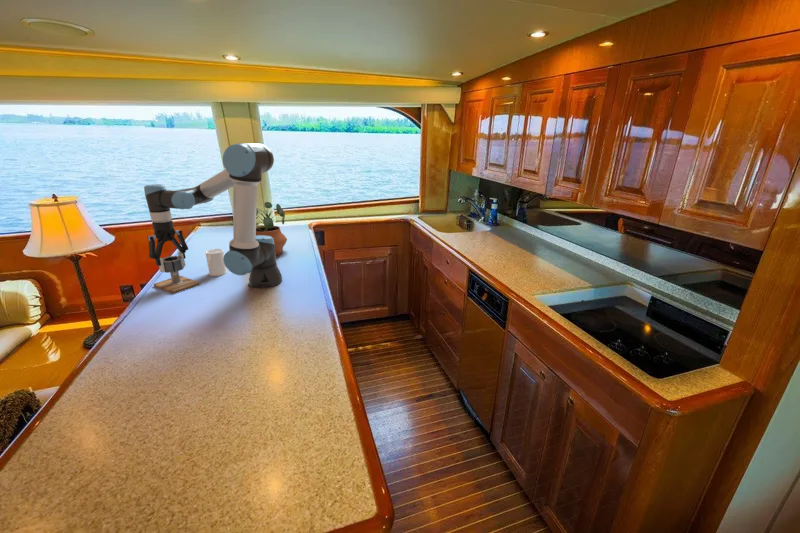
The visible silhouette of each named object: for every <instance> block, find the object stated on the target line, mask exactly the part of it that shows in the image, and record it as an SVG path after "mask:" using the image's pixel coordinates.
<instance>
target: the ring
mask: <svg viewBox="0 0 800 533" xmlns="http://www.w3.org/2000/svg"><path fill="white" fill-rule="evenodd" d="M161 258H162V260H163V264H164V268H165V272H164V273H170V272H177V271H178V272H180V271H182V270H184V268H185V266H184V263H183V258H182V257H180V256H178V255H172V256H171V255H170V256H165V257H161Z"/></svg>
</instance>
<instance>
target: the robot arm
mask: <svg viewBox="0 0 800 533" xmlns="http://www.w3.org/2000/svg"><path fill="white" fill-rule="evenodd" d="M274 162H275V159H274V154H273V152H272V150H271V149H270V148H269V147H267V146H266V145H265V144H263V143H256V142H255V143H248V142H247V143H245V142H243V143H242V142H239V143H234V144H230V145H229V146H228V147H226V149H225V150H224V152H223V154H222V166H223V167H224V168H225V169H224V170H222V171H220V172H218V173H217V174H215V175H213V176H212V177H210V178H208V179H206V180H204V181H203V182H202V183H200V184H199V185H196V186H194V187H189V188H184V189H183V188H182V189H179V190H172V189H171V190H169V189H167V188H166V187H165V185H164V184H162V183H161V184H158V183H154V184H153V183H152V184H146V185H144V187H143V189H144V190H143V191H144V196H145V200H146V203H147V206H148V207H147V208H148V211H149V216H150V220H151V221H152V223H151V224H152V228H153V230H154V234H152V235H147V237H146V238H147V240H148V257H149V259H153V260H155V264H156V266H157V267H158V268H159V271H160V272H161V273H165V268H164V264H163V260H162V258H163V257H161V256H162V251H163V248H164V247H163V246H164V244H165V243H167V242H171V243H172V244H173V245H174V246H175V248H176V249H177V250H178V252H177V256H180V257H182V258H183V263H184V267H186V262H185V259H186V252H187V251H188V250H189V247H188V244H187V242H186V240H185V238H184V235H183V230H180V229H176V230H175V225H174V222H173V220H172V219H173V216H172V212H171V209H177V210H191V209H192V208H193V207H195V206H196V205H201V204H207V203H210V202H212V201H213V200H214V198H215V197H217V196H218V195H221V194H222V193H224V192H226V191H228V190H230V189H231V188H233V202H232V203H233V205H232V206H233V210H232V212H233V222H232V224H233V230H232V231H233V232H232V233H233V234H232V235H233V238H232V239H231V240H229V244H228V245H229V247H228V248H229V250H228V251H227V252H225V253H224V258H223V260H224V264H225V266H226V269H228V271H229V272H231V273H232V274H233V275H236V276H245V275H247V274H249V278H248V283H249V286H251V287H253V288H259V289H260V288H262V289H263V288H265V289H266V288H270V287H275V286H276V285H277V286H278V284H281V283H282V281H283V276H282V273H281V271H280V269H279V267H278V264H277V255H276V254H275V243H274V239H273V238H272V237H271V236H265V235H256V225H257V219H256V217H257V216H256V208H258V205H257V203H258V198H257V197H258V185H259V184H260V183H261V182H262V175H263V174H264V173H267V172H268V171H270V170H271V169H272V167H273V166H274ZM175 235H176V237H177V239H178V240H177V239H176V237H175ZM156 240H157V241H156ZM178 241H179V242H178Z"/></svg>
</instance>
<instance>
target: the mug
mask: <svg viewBox="0 0 800 533" xmlns="http://www.w3.org/2000/svg"><path fill="white" fill-rule="evenodd" d="M204 253H205V258H206V263H207V267H208V275H209V276H211V277H219V276H223V275H226V274H227V273H228V271H229V270H227V268H226V266H225V264H224V260H223V258H224V255H225V252H224V249H222V248H213V249H212V248H210V249H208V250H206V251H205V252H204Z"/></svg>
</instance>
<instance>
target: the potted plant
mask: <svg viewBox="0 0 800 533" xmlns="http://www.w3.org/2000/svg"><path fill="white" fill-rule="evenodd" d="M263 204H264V207H265V209H266V210H264V211H263V210H262V209H260V208H258V207H256V220H258V218H260V220H261V221H260V220H259V222H260V223H262V224H263V225H262V224H260V226H259V225H257V224H256V235H265V236H271V237H272V238H273V239H274V243H275V254H276V256H278V255H281V254H282V253H283V250H284V246H286V243H287V241H288V238H287V237H286V236H285V235H284V233H283V232H282V230H281V228H280V226H277V225H274V221H275V220H274V219H273V218H274V216H272V217H270V216H271V215H272V214H273V212H275V211H276V213H277V214H275V216H276V215H278V216H280V218H281V217H282V218H281V224H282V225H284V224H285V217H286V213H285V211H284V209H283V208H282V206H281V205H280V204H279V203H276V204H275V205H276V206H275V207H273V204H272V203H271V202H270V201H265V202H264V203H263ZM272 207H273V209H272ZM269 209H272V211H270V212H269V211H268V210H269ZM273 210H274V211H273ZM258 214H260V215H261V216H262V217H263V218H261V216H258ZM264 215H265V216H264Z"/></svg>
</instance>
